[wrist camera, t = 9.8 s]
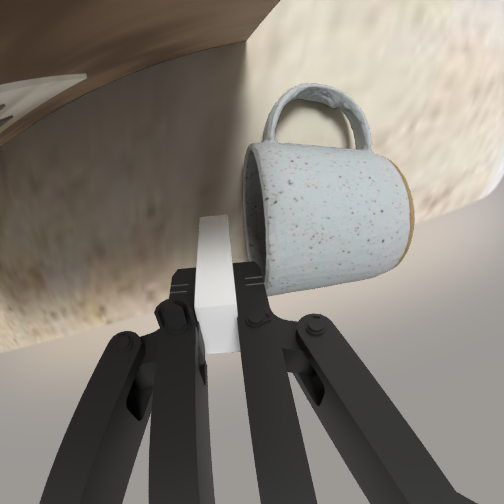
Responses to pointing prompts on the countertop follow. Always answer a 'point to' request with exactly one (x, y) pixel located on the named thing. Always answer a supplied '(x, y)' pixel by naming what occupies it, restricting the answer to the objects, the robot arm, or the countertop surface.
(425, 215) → the countertop surface
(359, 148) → the ceramic mug
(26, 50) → the wooden board
